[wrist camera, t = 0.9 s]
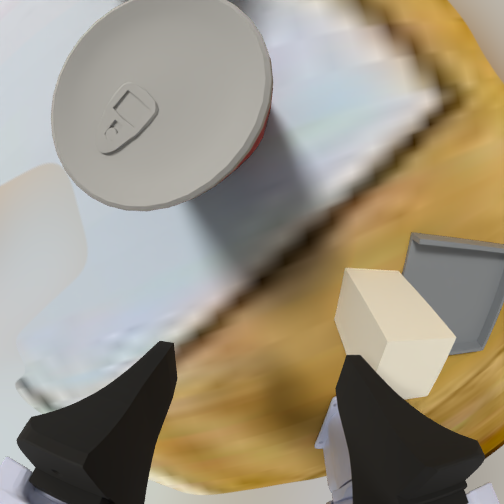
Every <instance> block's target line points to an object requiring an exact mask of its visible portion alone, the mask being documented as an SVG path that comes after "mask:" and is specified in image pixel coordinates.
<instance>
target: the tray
mask: <svg viewBox="0 0 504 504" xmlns="http://www.w3.org/2000/svg"><path fill="white" fill-rule="evenodd" d="M402 275H403V276H404V278H405V279H406V280H407V281H408V282H409V283H410V284H411V285H412V286H413V287H414V288H415V290H416V291H417V292H418V293H419V294H420V295H421V296H422V297H423V298H424V300H425V301H426V302H427V303H428V304H429V305H430V306H431V308H432V309H433V310H434V311H435V312H436V313H437V315H438V316H439V317H440V318H441V319H442V320H443V322H444V323H445V324H446V325H447V326H448V328H449V329H450V330H451V331H452V332H453V334H454V335H455V336H456V340H455V342H454V344H453V346H452V349H451V351H450V353H449V355H453V354H461V353H468V352H475V351H481V350H483V349H484V347H485V345H486V343H487V340H488V338H489V336H490V334H491V332H492V329H493V327H494V325H495V322H496V320H497V318H498V315H499V313H500V310H501V308H502V305H503V302H504V244H497V243H490V242H483V241H476V240H469V239H461V238H453V237H445V236H437V235H429V234H421V233H412V232H411V237H410V242H409V246H408V251H407V255H406V260H405V264H404V268H403V272H402Z"/></svg>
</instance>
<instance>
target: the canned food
mask: <svg viewBox="0 0 504 504" xmlns="http://www.w3.org/2000/svg"><path fill="white" fill-rule="evenodd" d="M272 92H273V76H272V66H271V59H270V57H269V54H268V51H267V48H266V45H265V43H264V40H263V37H262V35H261V34H260V32H259V31H258V29H257V28H256V26H255V25H254V23H253V22H252V20H251V19H250V18H249V17H248V16H247V15H246V14H245V13H244V12H243V11H241V10H240V9H239V8H238V7H237V6H236V5H234V4H233V3H231V2H229V1H227V0H129V1H127V2H125V3H123V4H121V5H119V6H117V7H116V8H114V9H112V10H111V11H109V12H108V13H107V14H105V15H104V16H103V17H102V18H100V19H99V20H98V21H96V22H95V23H94V24H93V25H92V26H91V27H90V28H89V29H88V30H87V32H86V33H85V34H84V35H83V36H82V37H81V38H80V39H79V41H78V42H77V44H76V45H75V47H74V48H73V49H72V51H71V52H70V54H69V55H68V57H67V59H66V61H65V63H64V65H63V68H62V70H61V72H60V74H59V77H58V80H57V84H56V87H55V91H54V94H53V101H52V110H51V125H52V136H53V140H54V144H55V148H56V152H57V155H58V157H59V159H60V161H61V163H62V165H63V167H64V169H65V171H66V172H67V174H68V175H69V176H70V178H71V179H72V180H73V181H74V183H75V184H76V185H77V186H78V187H79V188H80V189H82V190H83V191H84V192H85V193H86V194H88V195H89V196H90V197H92V198H94V199H96V200H97V201H99V202H101V203H103V204H105V205H107V206H111V207H115V208H119V209H123V210H129V211H151V210H157V209H163V208H169V207H171V206H175V205H178V204H180V203H183V202H186V201H188V200H191V199H194V198H196V197H198V196H199V195H201V194H203V193H204V192H206V191H208V190H209V189H211V188H213V187H215V186H216V185H217V184H219V183H220V182H222V181H223V180H224V179H225V178H226V177H228V176H229V175H230V174H231V173H232V172H233V171H235V170H236V169H237V168H238V167H239V166H240V165H241V164H242V163H243V162H244V161H246V160H247V159H248V158H249V157H250V155H251V154H252V153H253V152H254V151H255V149H256V148H257V146H258V145H259V143H260V141H261V139H262V138H263V135H264V132H265V129H266V126H267V122H268V117H269V113H270V109H271V100H272Z"/></svg>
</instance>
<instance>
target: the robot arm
mask: <svg viewBox="0 0 504 504" xmlns="http://www.w3.org/2000/svg"><path fill="white" fill-rule="evenodd" d="M176 382H177V370H176V361H175V351H174V343H171V342H164V341H159V342H158V343H157V344H156V345H155V346H154V347H152V348H151V349H150V350H149V351H148V352H147V353H146V354H145V355H144V356H143V357H142V358H141V359H140V360H139V361H137V362H136V363H135V364H134V365H133V366H132V367H131V368H129V369H128V370H127V371H126V372H124V373H123V374H122V375H121V376H119V377H118V378H117V379H115V380H114V381H113V382H111V383H110V384H109V385H107V386H106V387H104V388H103V389H101V390H99V391H98V392H96V393H94V394H92V395H90V396H89V397H87V398H85V399H83V400H81V401H79V402H77V403H74V404H72V405H69V406H67V407H64V408H62V409H59V410H56V411H53V412H49V413H46V414H42V415H38V416H34V417H31V418H30V420H29V421H28V423H27V424H26V426H25V427H24V429H23V430H22V432H21V433H20V435H19V437H18V438H17V444H18V446H19V448H20V449H21V451H22V452H23V453H24V454H25V456H26V457H27V458H28V459H29V460H30V462H31V463H32V464H33V465H34V466H35V467H36V468H35V470H34V471H33V472H32V471H30V470H29V469H28V468H26V467H25V466H23V465H21V464H20V463H18V462H16V461H14V460H13V459H11V458H10V457H8V456H7V457H5V459H4V461H3V462H2V464H1V466H0V504H144V501H145V494H146V487H147V482H148V477H149V472H150V467H151V462H152V458H153V453H154V449H155V445H156V442H157V439H158V436H159V433H160V430H161V428H162V425H163V422H164V420H165V417H166V414H167V412H168V409H169V406H170V404H171V401H172V398H173V395H174V390H175V386H176ZM315 448H317V449H322V448H323V452H324V459H325V466H326V473H327V481H328V486H329V489H330V491H331V493H332V498H333V500H332V501H329V502H327V503H326V504H500V503H499V501H498V498H497V496H496V494H495V491H494V489H493V486H492V484H491V482H488V483H487V484H484V485H483V486H480V487H478V488H476V489H474V490H472V491H470V492H469V493H467V494H465V491H464V489H465V488H466V487H467V483H466V481H465V480H466V479H467V478H468V477H469V476H470V475H471V474H472V473H473V472H474V471H475V470H477V469H478V467H479V466H480V465H481V464H482V463H483V461H484V459H485V455H484V453H483V451H482V449H481V447H480V445H479V443H478V441H477V440H474V439H471V438H468V437H465V436H463V435H460V434H457V433H455V432H453V431H451V430H449V429H447V428H445V427H443V426H441V425H439V424H437V423H436V422H434V421H433V420H431V419H429V418H428V417H426V416H425V415H423V414H422V413H420V412H419V411H418V410H416V409H415V408H414V407H412V406H411V405H410V404H409V403H407V402H406V401H405V400H404V399H403V398H402V397H401V396H399V395H398V394H397V393H396V392H395V391H394V390H393V389H392V388H391V387H390V386H389V385H388V384H387V383H386V382H385V381H384V380H383V379H382V378H381V377H380V376H379V375H378V374H377V372H376V371H375V370H374V369H373V368H372V367H371V366H370V365H369V364H368V363H367V362H366V360H365V359H364V358H363V357H362V356H361V355H347V356H346V359H345V362H344V365H343V368H342V371H341V374H340V377H339V380H338V383H337V386H336V396H335V397H334V398H332V400H331V403H330V406H329V409H328V411H327V414H326V417H325V419H324V422H323V425H322V427H321V430H320V432H319V435H318V437H317V440H316V442H315Z"/></svg>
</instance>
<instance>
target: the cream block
mask: <svg viewBox="0 0 504 504" xmlns="http://www.w3.org/2000/svg"><path fill="white" fill-rule="evenodd" d="M334 320H335V323H336V326H337V329H338V331H339V334H340V337H341V340H342V343H343V346H344V348H345V351H346V354H347V355H361V356H362V357H363V358H364V359H365V360H366V362H367V363H368V364H369V365H370V366H371V367H372V368H373V369H374V370H375V371H376V372H377V374H378V375H379V376H380V377H381V378H382V379H383V380H384V381H385V382H386V383H387V384H388V385H389V386H390V387H391V388H392V389H393V390H394V391H395V392H396V393H397V394H398V395H399V396H401V397H402V398H403V399H411V398H418V397H424V396H427V395H428V394H429V392H430V390H431V388H432V386H433V385H434V383H435V381H436V379H437V377H438V375H439V373H440V371H441V369H442V367H443V365H444V363H445V361H446V359H447V357H448V355H449V353H450V351H451V349H452V346H453V344H454V342H455V340H456V336H455V335H454V334H453V332H452V331H451V330H450V329H449V328H448V326H447V325H446V324H445V323H444V322H443V320H442V319H441V318H440V317H439V316H438V315H437V313H436V312H435V311H434V310H433V309H432V308H431V306H430V305H429V304H428V303H427V302H426V301H425V300H424V298H423V297H422V296H421V295H420V294H419V293H418V292H417V291H416V290H415V288H414V287H413V286H412V285H411V284H410V283H409V282H408V281H407V280H406V279H405V278H404V276H403V275H402V274H401V273H400V272H399V271H392V270H374V269H357V268H345V270H344V276H343V281H342V286H341V291H340V296H339V301H338V305H337V310H336V315H335V319H334Z"/></svg>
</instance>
